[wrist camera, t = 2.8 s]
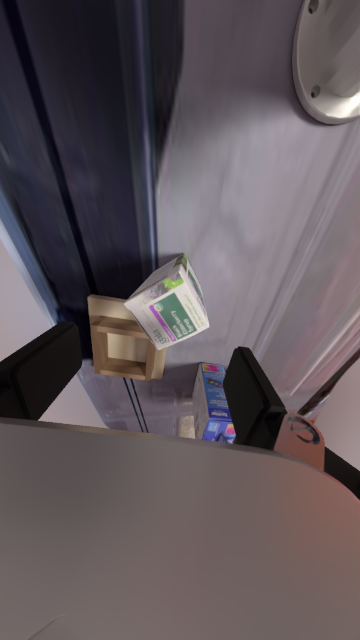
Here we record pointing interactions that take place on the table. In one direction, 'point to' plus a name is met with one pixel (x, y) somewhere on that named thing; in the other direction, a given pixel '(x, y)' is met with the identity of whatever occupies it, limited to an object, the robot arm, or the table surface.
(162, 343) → the syrup box
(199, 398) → the ink cartridge box
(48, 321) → the table surface
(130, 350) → the desk stand
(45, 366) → the robot arm
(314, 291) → the table surface
